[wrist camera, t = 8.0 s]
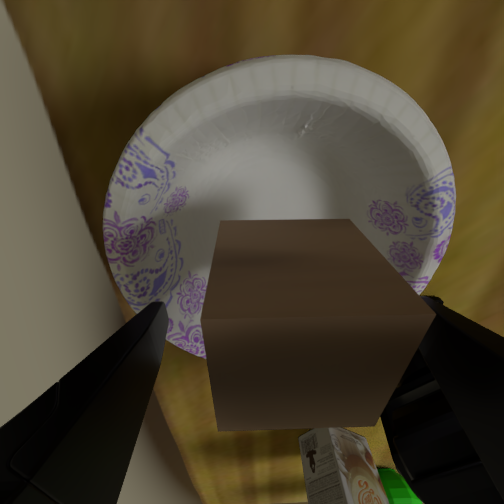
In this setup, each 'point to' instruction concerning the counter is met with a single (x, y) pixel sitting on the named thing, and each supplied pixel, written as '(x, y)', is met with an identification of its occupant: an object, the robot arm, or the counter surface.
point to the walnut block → (305, 325)
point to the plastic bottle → (397, 488)
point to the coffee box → (339, 468)
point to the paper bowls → (273, 176)
